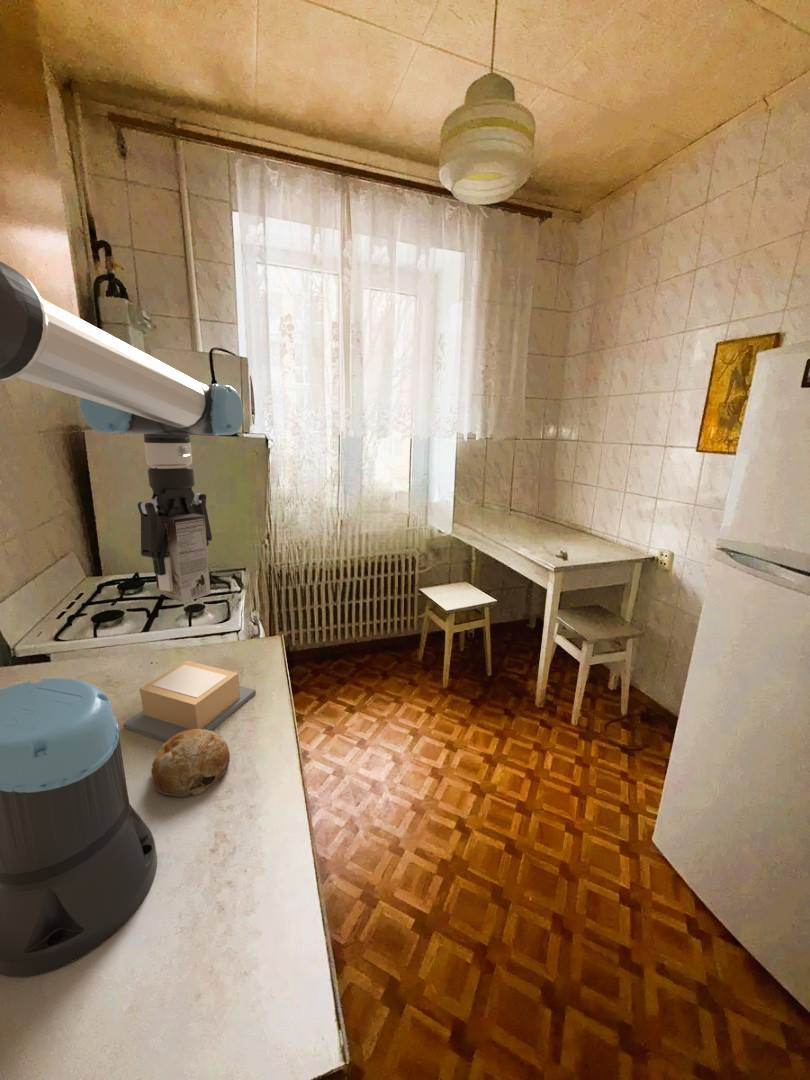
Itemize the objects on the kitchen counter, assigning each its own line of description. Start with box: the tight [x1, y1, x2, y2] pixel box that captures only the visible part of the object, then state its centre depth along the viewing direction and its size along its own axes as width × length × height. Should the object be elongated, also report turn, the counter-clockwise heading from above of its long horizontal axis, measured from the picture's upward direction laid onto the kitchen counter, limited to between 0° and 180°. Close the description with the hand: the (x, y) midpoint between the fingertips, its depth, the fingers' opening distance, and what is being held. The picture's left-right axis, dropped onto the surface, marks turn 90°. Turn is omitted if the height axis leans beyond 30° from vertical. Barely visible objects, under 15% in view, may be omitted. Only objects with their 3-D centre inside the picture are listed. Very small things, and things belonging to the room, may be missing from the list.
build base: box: [122, 660, 257, 743], centre depth 77 cm, size 16×14×6 cm
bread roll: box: [150, 729, 231, 798], centre depth 64 cm, size 10×10×8 cm
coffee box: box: [155, 511, 212, 603], centre depth 85 cm, size 9×6×16 cm
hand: (183, 583), depth 87 cm, fingers closed on coffee box, 7 cm apart
